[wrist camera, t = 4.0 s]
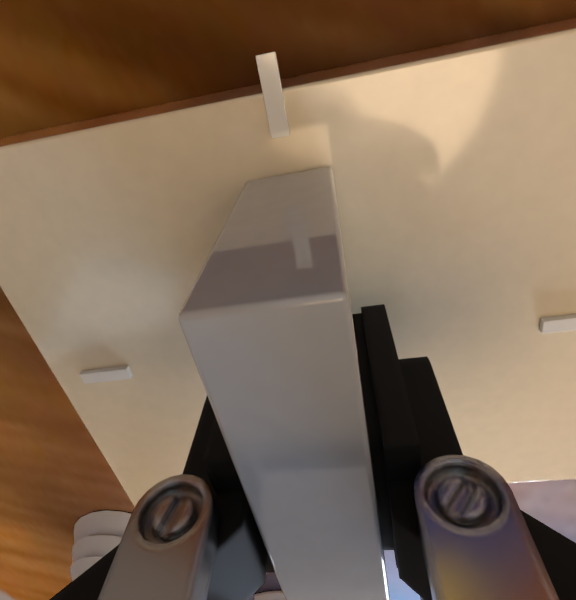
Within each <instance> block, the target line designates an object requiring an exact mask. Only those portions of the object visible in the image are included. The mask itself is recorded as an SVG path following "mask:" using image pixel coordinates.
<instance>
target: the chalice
mask: <svg viewBox="0 0 576 600" xmlns="http://www.w3.org/2000/svg"><path fill="white" fill-rule="evenodd" d="M130 516H131V514H130V513H126V512H120V511H99V512H92V513H89V514H87V515H85V516H83V517H81V518H80V519H79V520H78V521H77V522H76V523H75V525H74V542H75V544H74V545H73V547H72V561H73V564H72V565H71V568H70V574H71V578H72V581H74V580H75V579H76V578H77V577H79V576H80V575H81V574H82V573H84V572H85V571H86V570H87V569H89V568H90V567H91V566H92V565H94V564H95V563H96V562H97V561H99V560H100V559H101V558H102V557H104V556H105V555H106V554H107V553H109V552H110V551H111V550H112V549H114V548H115V547H116V546H117V545H119V544H120V541H121V539H122V536H123V534H124V531H125V529H126V526H127V524H128V521H129V519H130Z"/></svg>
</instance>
